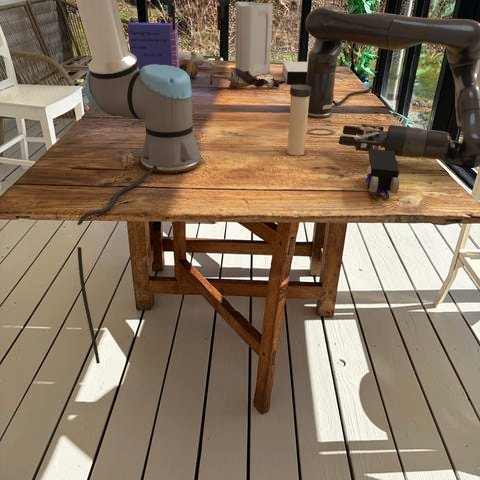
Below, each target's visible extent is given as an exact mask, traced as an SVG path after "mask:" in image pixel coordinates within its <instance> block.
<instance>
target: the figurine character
mask: <svg viewBox="0 0 480 480" xmlns="http://www.w3.org/2000/svg"><path fill="white" fill-rule="evenodd" d="M367 153H368V158H369V165H368V166H367V169H366V173H367V174H366V177H365V182H366V184H367V189H368V190H369V193H372V198H374V199H377V194H384V197H385V199H386V200H389V199H390V194H398V192H399V188H400V178H399V175H400V169H399V164H398V161H397V156H395V153H394V151H388V150H385V149H380V150H378V149H368V151H367ZM389 192H390V193H389ZM376 193H377V194H376Z"/></svg>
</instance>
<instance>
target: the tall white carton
mask: <svg viewBox="0 0 480 480" xmlns="http://www.w3.org/2000/svg"><path fill="white" fill-rule="evenodd" d="M273 8H274V4H273V3H269V2H267V3H266V2H265V3H264V2H252V1H235V59H234V60H235V62H234V63H235V65H234V66H235V67H234V68H237V69H240V70H242V71H244V72H245V71H249V72H250V73H251V75H252V76H256V77H257V76H259V75H260V76H261V75H266V74H270V73H271V56H272V55H271V54H272V33H273V32H272V31H273V10H274V9H273Z"/></svg>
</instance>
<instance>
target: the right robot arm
mask: <svg viewBox="0 0 480 480" xmlns="http://www.w3.org/2000/svg"><path fill="white" fill-rule="evenodd" d="M305 29H306V31H307V32H308V34H309V36H311V37H312V38H314V39H315V40H314V44H313V46H312V48H311V49H310V50H309V52H308V56H307V62H308V67H307V79H306V84H305V85H307V86H310V87H311V95H310V96H309V107H308V117H309V118H310V117H311V118H318V119H319V118H320V119H321V118H328V117H330V116H332V109H333V108H332V107H333V105H334V106H340V105H341V104H343V103H344V102H345V101H347V100H348V99H349V98H350V97H351V96H353V95H358V94H359V95H360V94H366V93H369V92H371V90H374V87H373V86H372V85H370V86H369V87H368V89H365V90H358V91H352V92H350V93H348V94H347V95H346V96H345V97H343V99H341V101H339V102H337V101H335V99H334V97H335V94H334V90H335V82H336V81H335V80H336V73H337V70H336V69H337V62H338V56H339V54H340V52H341V48H342V42H343V41H346V42H350V43H354V44H358V45H363V46H367V47H373V48H377V49H383V50H389V51H400V50H401V51H402V50H405V49H408V48H411V47H413V46H417V45H421V44H431V45H438V46H442V47H445V55H446V58H447V62H448V64H449V68H450V71H451V74H452V77H453V82H454V104H455V105H454V106H455V117H456V124H457V128H458V130H459V131H460V132H461V133H462V142H460V141H457V140H452V136H451V134H450V133H449V132H446V131H442V130H432V129H426V128H425V129H424V128H421V127H414V126H405V125H404V126H403V125H396V124H390V125H388V129H387V131H385V127H384V126H382V125H381V126H380V125H372V124H365V123H362V124H360V125H358V126H354V125H343V128H342V134H343V135H339V137H338V138H339V139H338V144H339V145H341V146H347V147H348V146H349V147H353V148H354V149H355V151H358V152H359V151H360V152H368V149H378V150H382V149H384V150H388V151H394V153H395V157H402V158H411V159H416V158H417V159H427V160H436V161H437V160H439V161H441V162H443V163H446V164H449V165H451V166H455V167H458V168H462V169H468V170H469V169H476V168H477V169H478V168H479V167H480V22H479V21H476V20H473V19H466V18H431V17H430V18H428V17H417V16H410V15H409V16H407V15H402V14H394V13H383V12H366V13H345V12H343V10H342V9H341V8H340V7H339V6H337V5H333V4H332V5H323V6H319V7H318V6H317V7H316V8H314V9H313V10H311V11H310V12H309V14H308V15H307V17H306V19H305Z"/></svg>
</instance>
